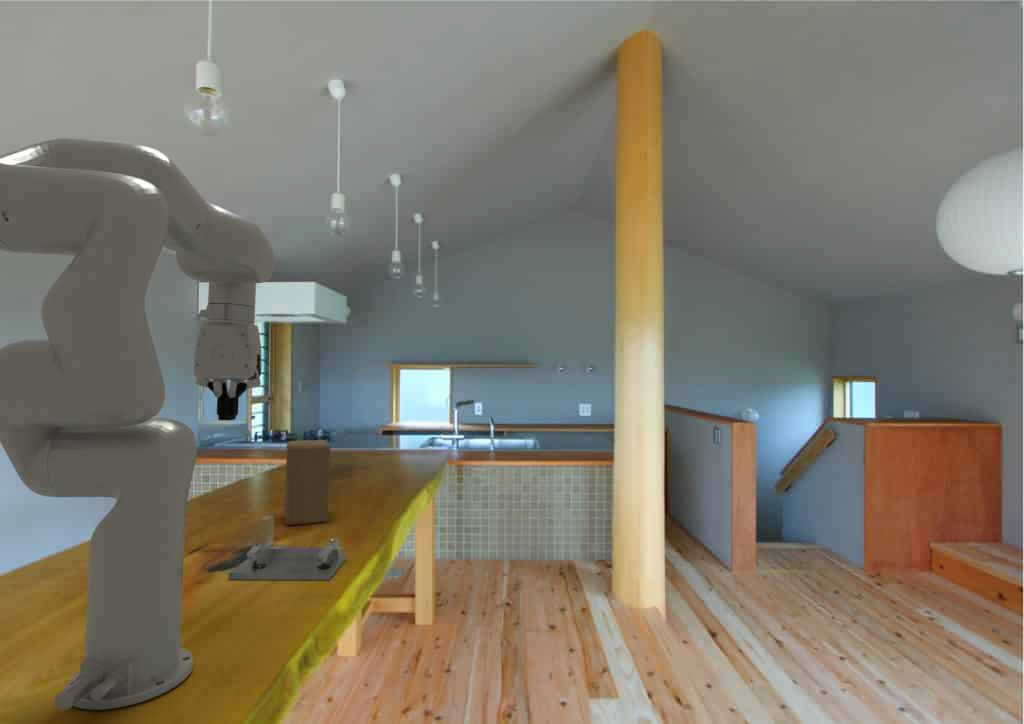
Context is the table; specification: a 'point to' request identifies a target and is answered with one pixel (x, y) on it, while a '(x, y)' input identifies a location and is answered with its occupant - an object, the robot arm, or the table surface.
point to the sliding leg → (263, 537)
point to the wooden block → (307, 482)
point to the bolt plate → (292, 563)
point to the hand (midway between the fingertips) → (227, 419)
